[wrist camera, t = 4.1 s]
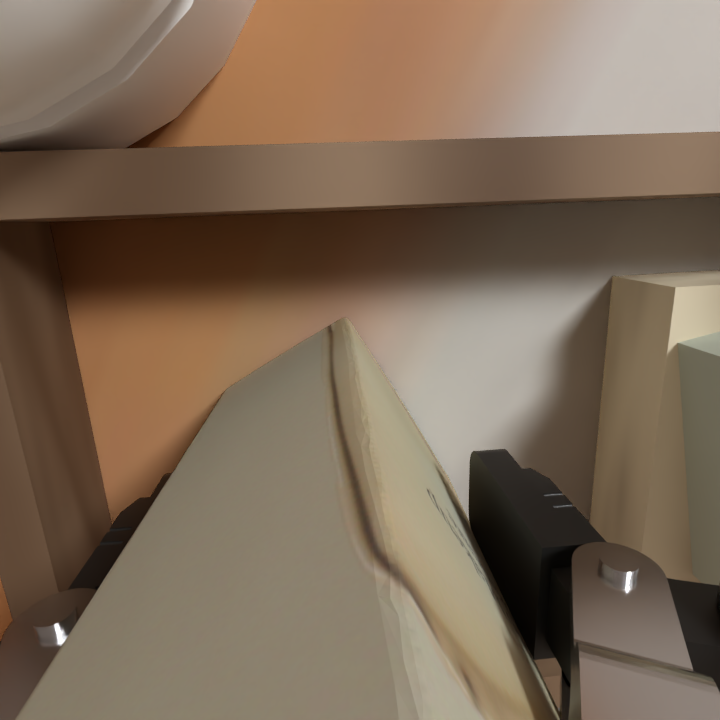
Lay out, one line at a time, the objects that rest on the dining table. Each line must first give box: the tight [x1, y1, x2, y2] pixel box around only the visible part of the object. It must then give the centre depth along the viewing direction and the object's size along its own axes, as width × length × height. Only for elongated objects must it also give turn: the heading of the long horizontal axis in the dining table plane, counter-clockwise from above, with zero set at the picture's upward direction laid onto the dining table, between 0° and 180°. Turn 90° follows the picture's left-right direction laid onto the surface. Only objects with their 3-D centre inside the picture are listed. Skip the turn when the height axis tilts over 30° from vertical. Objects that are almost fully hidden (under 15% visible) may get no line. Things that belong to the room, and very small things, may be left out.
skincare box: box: [15, 318, 561, 720], centre depth 8 cm, size 6×4×12 cm
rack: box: [0, 132, 720, 708], centre depth 13 cm, size 24×15×3 cm, turn 92°
